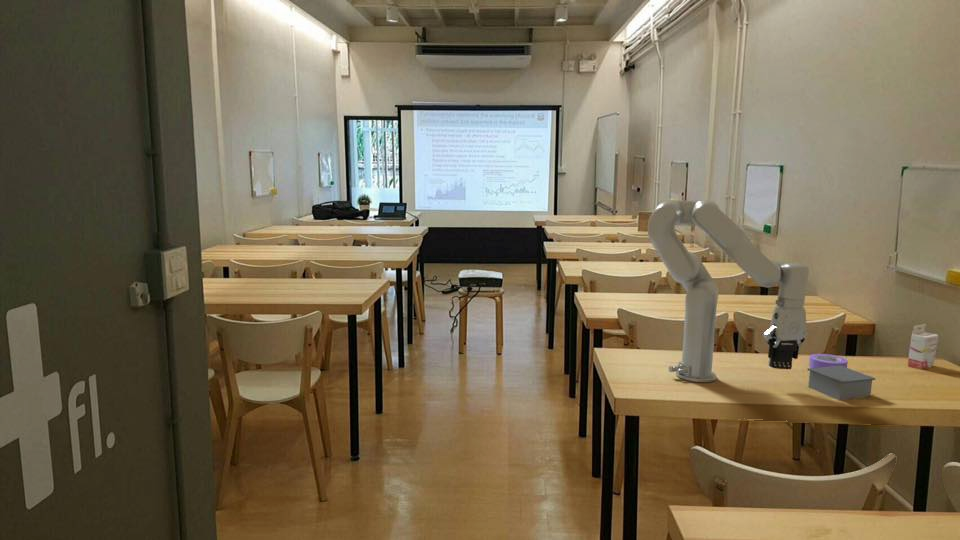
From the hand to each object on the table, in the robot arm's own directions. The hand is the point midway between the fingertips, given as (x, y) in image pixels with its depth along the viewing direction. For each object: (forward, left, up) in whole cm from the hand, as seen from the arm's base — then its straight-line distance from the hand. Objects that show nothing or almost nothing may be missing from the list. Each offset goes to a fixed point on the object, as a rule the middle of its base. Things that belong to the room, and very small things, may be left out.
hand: (782, 357), depth 201 cm
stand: (+16, -8, -10) cm, 20 cm away
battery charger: (0, 0, -4) cm, 4 cm away
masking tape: (+32, +12, -10) cm, 36 cm away
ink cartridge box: (+67, +6, -10) cm, 68 cm away
